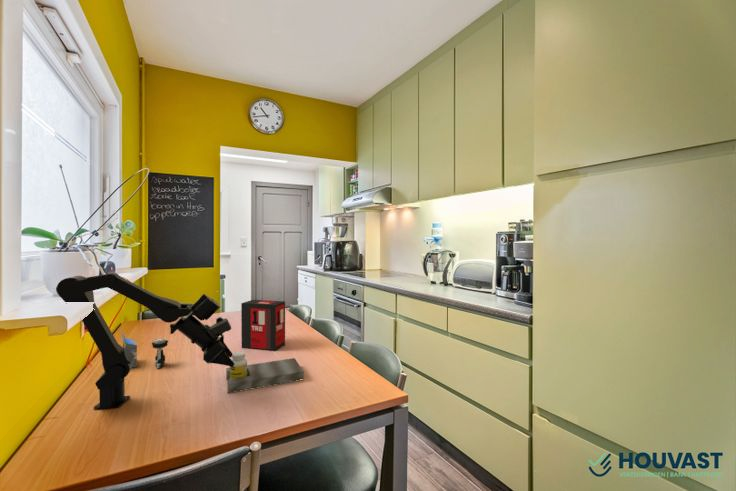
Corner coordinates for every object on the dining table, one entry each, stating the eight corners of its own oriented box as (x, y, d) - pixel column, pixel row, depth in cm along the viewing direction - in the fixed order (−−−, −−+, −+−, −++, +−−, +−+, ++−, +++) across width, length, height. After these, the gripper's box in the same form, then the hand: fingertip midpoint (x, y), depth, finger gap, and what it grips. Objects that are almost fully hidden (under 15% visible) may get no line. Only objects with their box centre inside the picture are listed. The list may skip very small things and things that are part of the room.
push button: (165, 368, 124) (165, 341, 124) (149, 370, 123) (148, 343, 122) (169, 362, 131) (169, 336, 130) (153, 364, 129) (153, 338, 129)
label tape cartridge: (137, 367, 126) (137, 334, 126) (124, 369, 123) (124, 336, 123) (134, 360, 133) (134, 329, 132) (122, 363, 130) (121, 331, 130)
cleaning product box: (241, 348, 148) (241, 303, 148) (253, 342, 157) (253, 299, 156) (275, 351, 144) (275, 305, 144) (285, 345, 153) (285, 301, 152)
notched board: (227, 393, 105) (227, 383, 105) (226, 376, 117) (226, 368, 117) (303, 379, 115) (303, 371, 115) (294, 365, 127) (294, 358, 127)
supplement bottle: (226, 385, 110) (226, 356, 110) (235, 378, 116) (235, 350, 115) (242, 386, 109) (242, 356, 109) (250, 379, 115) (250, 351, 115)
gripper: (215, 318, 101) (254, 349, 105) (215, 306, 118) (248, 334, 122) (185, 347, 97) (226, 378, 102) (189, 331, 114) (224, 358, 119)
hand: (232, 360), depth 112 cm, fingers open, 9 cm apart
